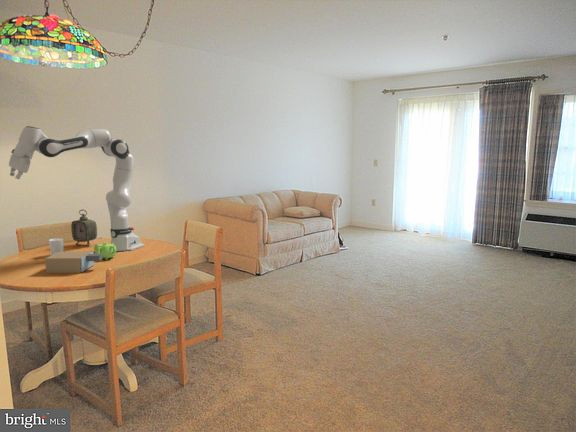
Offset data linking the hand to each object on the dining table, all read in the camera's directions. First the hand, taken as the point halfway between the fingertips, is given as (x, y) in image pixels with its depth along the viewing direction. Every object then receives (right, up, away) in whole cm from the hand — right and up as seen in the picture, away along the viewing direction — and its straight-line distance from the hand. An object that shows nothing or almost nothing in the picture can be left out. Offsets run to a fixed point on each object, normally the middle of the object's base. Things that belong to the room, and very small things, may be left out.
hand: (14, 177), depth 224 cm
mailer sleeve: (+31, -51, -1) cm, 60 cm away
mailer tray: (+36, -50, -1) cm, 62 cm away
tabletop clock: (+12, -42, +56) cm, 71 cm away
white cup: (+7, -46, +29) cm, 55 cm away
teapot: (+41, -47, +22) cm, 66 cm away
